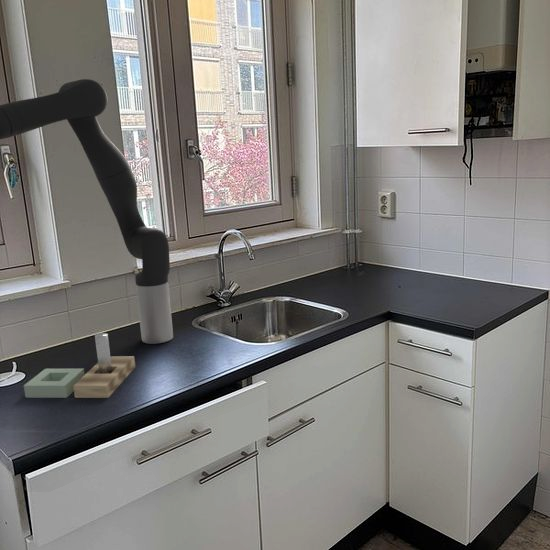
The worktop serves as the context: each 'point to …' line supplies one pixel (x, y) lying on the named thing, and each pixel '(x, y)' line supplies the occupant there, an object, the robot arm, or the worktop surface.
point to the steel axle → (103, 353)
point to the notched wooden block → (104, 379)
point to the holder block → (53, 383)
